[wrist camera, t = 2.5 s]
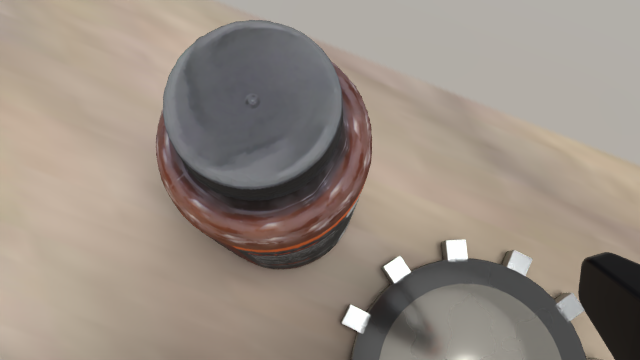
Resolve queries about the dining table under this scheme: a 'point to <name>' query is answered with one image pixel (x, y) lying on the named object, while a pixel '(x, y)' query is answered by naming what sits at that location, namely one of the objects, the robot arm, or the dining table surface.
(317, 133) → the supplement bottle
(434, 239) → the dining table surface
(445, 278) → the sprocket plate
